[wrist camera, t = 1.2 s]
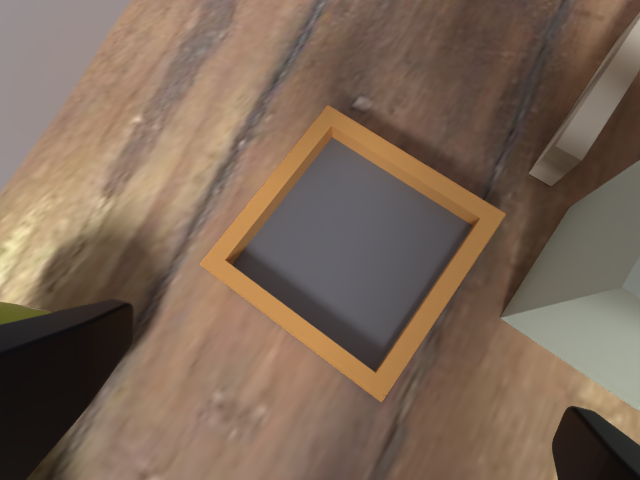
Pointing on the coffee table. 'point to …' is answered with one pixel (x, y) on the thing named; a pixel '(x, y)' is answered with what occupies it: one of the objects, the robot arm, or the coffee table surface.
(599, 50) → the coffee table surface
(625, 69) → the birch channel
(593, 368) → the sage block
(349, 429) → the coffee table surface
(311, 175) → the tray
